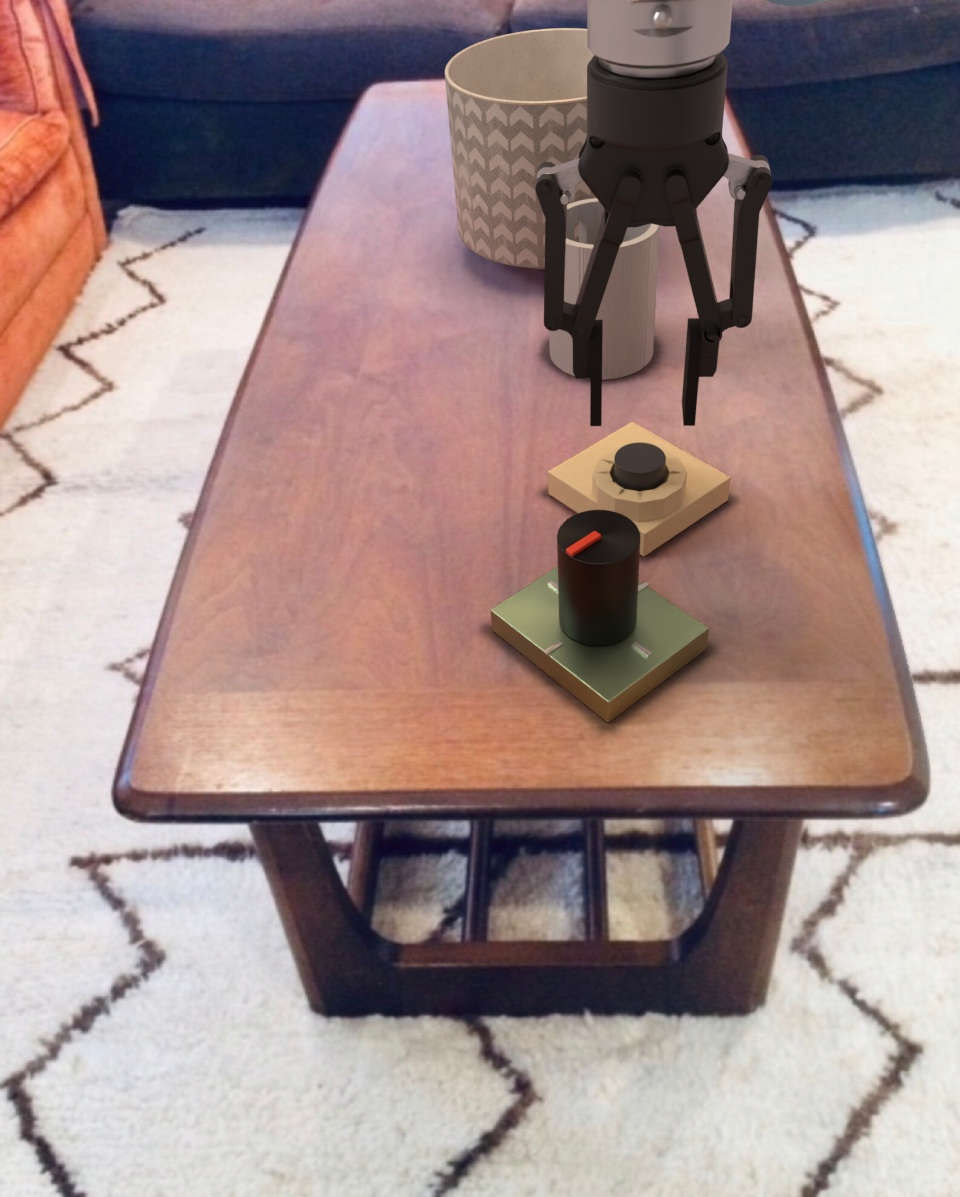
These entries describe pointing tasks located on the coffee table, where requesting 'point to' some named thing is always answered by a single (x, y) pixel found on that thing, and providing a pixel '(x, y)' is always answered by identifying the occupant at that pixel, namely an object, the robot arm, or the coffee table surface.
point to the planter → (514, 135)
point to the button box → (653, 511)
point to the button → (639, 466)
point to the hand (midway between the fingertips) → (641, 413)
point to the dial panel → (607, 670)
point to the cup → (612, 293)
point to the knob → (598, 576)
